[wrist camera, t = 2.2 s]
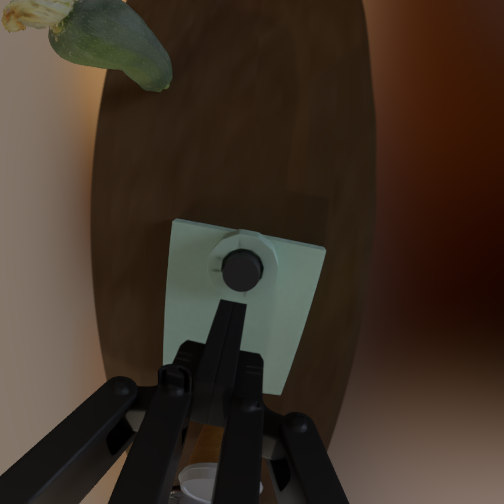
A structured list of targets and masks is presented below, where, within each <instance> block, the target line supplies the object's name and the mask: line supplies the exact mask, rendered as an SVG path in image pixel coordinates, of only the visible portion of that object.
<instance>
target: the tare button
mask: <svg viewBox="0 0 504 504" xmlns="http://www.w3.org/2000/svg"><path fill="white" fill-rule="evenodd" d="M222 277H223V280H224V282H225V284H226V285H227V286H228V287H229V288H230V289H232V290H234V291H237V292H246V291H249V290H251V289H253V288H254V287H255V286H256V285H257V283H258V281H259V278H260V263H259V261H258V259H257V258H256V257H255V256H254V255H253V254H251V253H249V252H246V251H238V252H235V253H233V254H232V255H230V256H229V257H228V259H227V260H226V263H225V265H224V268H223V271H222Z"/></svg>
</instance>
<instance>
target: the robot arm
mask: <svg viewBox="0 0 504 504" xmlns="http://www.w3.org/2000/svg"><path fill="white" fill-rule="evenodd" d="M246 308H247V304H244V303H239V302H233V301H228V300H224V299H220V302H219V305H218V308H217V311H216V313H215V316H214V319H213V322H212V325H211V328H210V331H209V334H208V337H207V340H206V343H200V342H196V341H191V340H186V341H185V342H184V343H182V344H181V345H180V347H179V349H178V351H177V354H176V356H175V359H174V360H173V363H172V364H166V365H164V366H162V367H161V368H160V369H159V370H158V385H156V386H151V387H143V386H137V385H136V383H135V382H134V381H133V380H132V379H130V378H127V377H123V376H117V377H113V378H111V379H109V380H108V381H107V382H106V383H105V384H103V385H102V386H101V387H100V388H99V389H98V390H97V391H96V392H95V393H93V394H92V395H91V396H90V397H89V398H88V399H87V400H85V401H84V402H83V403H82V404H81V405H80V406H79V407H78V408H76V410H74V411H73V412H72V413H71V414H70V415H69V416H67V418H65V419H64V420H63V421H62V422H61V423H60V424H58V425H57V426H56V427H55V428H54V429H53V430H52V431H51V432H49V434H47V435H46V436H45V437H44V438H43V439H42V440H41V441H39V442H38V443H37V444H36V445H35V446H34V447H33V448H31V449H30V450H29V451H28V452H27V453H26V454H25V455H24V456H23V457H22V458H20V459H19V460H18V461H17V462H16V463H15V464H13V465H12V466H11V467H10V468H9V469H8V470H7V471H6V472H4V473H3V474H2V475H1V476H0V504H79V503H80V502H81V501H82V500H83V498H84V497H85V496H86V495H87V494H88V493H89V492H90V491H91V489H92V488H93V487H94V486H95V485H96V484H97V483H98V481H99V480H100V479H101V478H102V477H103V476H104V475H105V473H106V472H107V471H108V470H109V469H110V468H111V466H112V465H113V464H114V463H115V462H116V460H117V459H118V458H119V457H120V456H121V455H122V453H123V452H124V451H125V450H126V449H127V448H128V446H129V445H130V444H131V443H132V442H133V440H134V442H133V444H132V446H131V449H130V451H129V453H128V456H127V458H126V460H125V463H124V465H123V468H122V470H121V473H120V475H119V477H118V480H117V482H116V485H115V487H114V490H113V492H112V495H111V497H110V500H109V502H108V504H205V503H202V502H199V501H196V500H194V499H192V498H190V497H188V496H187V495H186V494H184V493H183V491H182V490H181V487H180V486H179V487H173V483H174V480H175V476H176V472H177V469H178V465H179V461H180V458H181V454H182V450H183V447H184V443H185V440H186V436H187V433H188V424H189V421H193V422H198V423H202V424H207V425H212V426H217V427H222V428H224V432H223V437H222V441H221V445H220V447H221V448H220V453H219V459H218V464H217V470H216V476H215V481H214V487H213V493H212V498H211V504H259V497H260V480H261V462H262V457H265V458H266V461H267V465H268V469H269V472H270V476H271V479H272V483H273V487H274V490H275V494H276V497H277V501H278V504H349V502H348V500H347V497H346V495H345V493H344V490H343V488H342V486H341V484H340V482H339V479H338V477H337V475H336V472H335V470H334V468H333V465H332V463H331V461H330V459H329V457H328V454H327V452H326V449H325V447H324V445H323V442H322V440H321V438H320V436H319V433H318V431H317V429H316V426H315V424H314V422H313V421H312V419H311V418H310V417H308V416H307V415H305V414H303V413H300V412H292V413H288V414H286V415H285V416H282V415H280V414H277V413H275V412H273V411H271V410H270V409H268V408H267V407H266V406H265V404H264V402H263V399H262V393H263V371H264V370H263V369H264V360H263V358H262V357H261V355H260V354H259V353H254V352H248V351H243V350H240V346H241V340H242V334H243V327H244V321H245V315H246Z"/></svg>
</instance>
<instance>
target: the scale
mask: <svg viewBox="0 0 504 504" xmlns="http://www.w3.org/2000/svg"><path fill="white" fill-rule="evenodd" d="M238 251H246V252H249V253H251V254H253V255H254V256H255V257H256V258H257V259H258V261H259V263H260V278H259V281H258V283H257V285H256V286H255V287H254V288H253V289H251V290H249V291H246V292H237V291H234V290H232V289H230V288H229V287H228V286H227V285H226V284H225V282H224V280H223V277H222V271H223V268H224V265H225V263H226V260H227V259H228V257H229V256H230V255H232V254H233V253H235V252H238ZM325 253H326V250H325V248H324V247H322V246H317V245H312V244H307V243H302V242H297V241H292V240H287V239H282V238H277V237H272V236H267V235H262V234H260V233H258V232H254V231H249V230H244V229H239V230H236V229H231V228H225V227H220V226H215V225H210V224H204V223H199V222H193V221H188V220H182V219H175V220H173V221H172V230H171V239H170V249H169V260H168V272H167V285H166V300H165V318H164V343H163V366H164V365H166V364H172V363H173V360H174V359H175V356H176V354H177V351H178V349H179V347H180V345H181V344H182V343H184V342H185V341H186V340H191V341H196V342H200V343H206V340H207V337H208V334H209V331H210V328H211V325H212V322H213V319H214V316H215V313H216V311H217V308H218V305H219V302H220V299H224V300H228V301H233V302H239V303H244V304H247V308H246V315H245V321H244V327H243V334H242V340H241V346H240V350H243V351H248V352H254V353H259V354H260V355H261V357H262V358H263V360H264V369H263V370H264V371H263V393H267V394H275V395H281V393H282V390H283V387H284V385H285V382H286V379H287V376H288V373H289V370H290V368H291V365H292V362H293V359H294V356H295V353H296V350H297V347H298V344H299V341H300V338H301V335H302V332H303V329H304V325H305V322H306V319H307V316H308V313H309V309H310V306H311V303H312V299H313V296H314V293H315V289H316V286H317V282H318V279H319V275H320V272H321V268H322V264H323V261H324V257H325Z"/></svg>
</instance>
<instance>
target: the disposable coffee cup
mask: <svg viewBox="0 0 504 504" xmlns="http://www.w3.org/2000/svg"><path fill="white" fill-rule="evenodd" d="M223 432H224V428H222V427H217V426H212V425H207V424H204V425H203V428H202V430H201V432H200V435H199V437H198V439H197V442H196V444H195V446H194V449H193V451H192V453H191V456H190V458H189V460H188V463H187V465H186V467H185V468H184V469H183V470H182V471H181V472H180V473H179V477H178V479H179V481H180V487H181V490H182V491H183V493H184V494H186V495H187V496H188V497H190V498H192V499H194V500H196V501H199V502H202V503H205V504H211V498H212V493H213V487H214V481H215V476H216V470H217V464H218V459H219V453H220V448H221V447H220V445H221V441H222V437H223ZM262 490H263V486H262V483H261V482H260V493H261V492H262Z"/></svg>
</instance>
